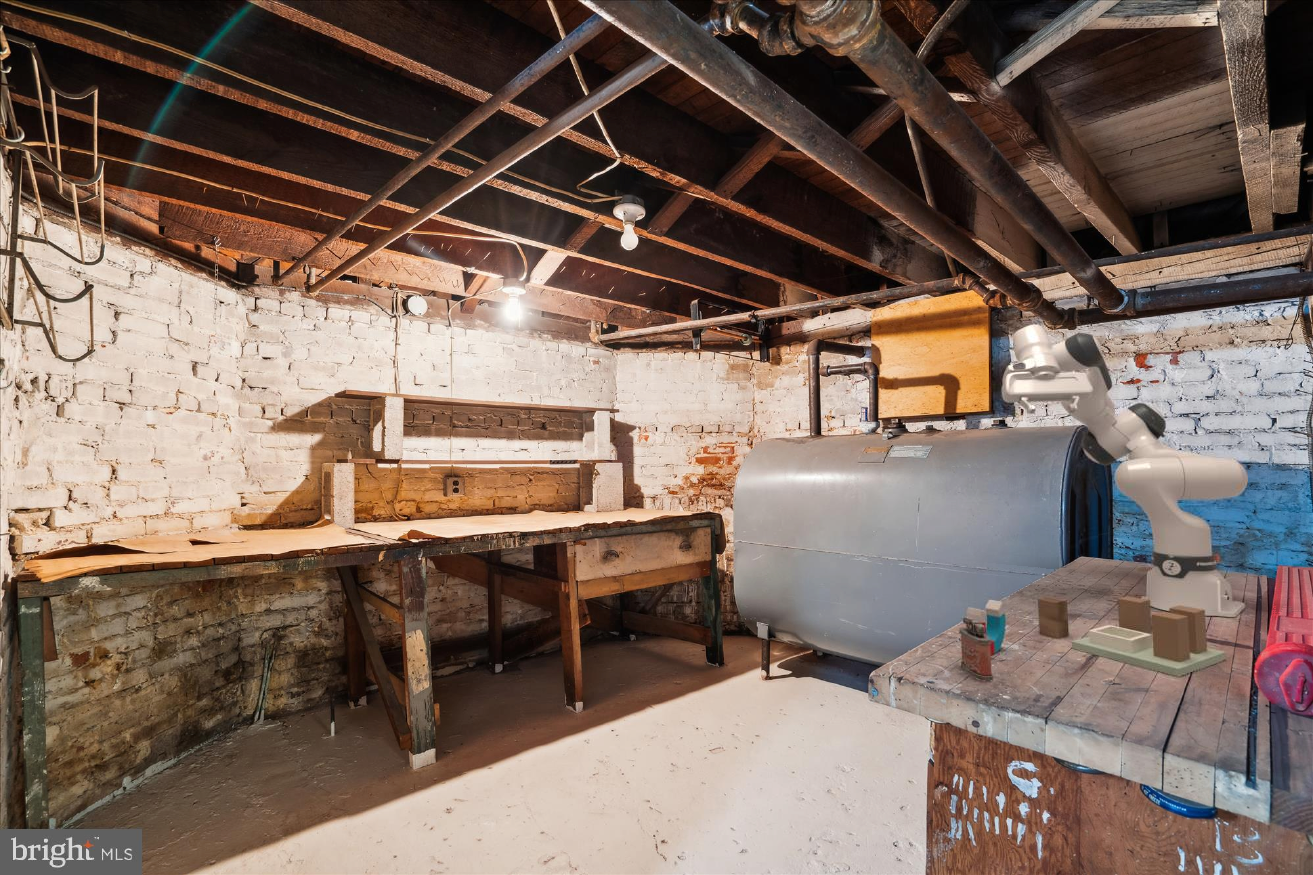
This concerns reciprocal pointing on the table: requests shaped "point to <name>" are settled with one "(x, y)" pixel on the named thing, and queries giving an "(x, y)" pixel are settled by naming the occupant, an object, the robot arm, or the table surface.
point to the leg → (1053, 617)
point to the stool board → (1154, 638)
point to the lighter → (975, 650)
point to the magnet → (991, 622)
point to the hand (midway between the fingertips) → (1052, 411)
